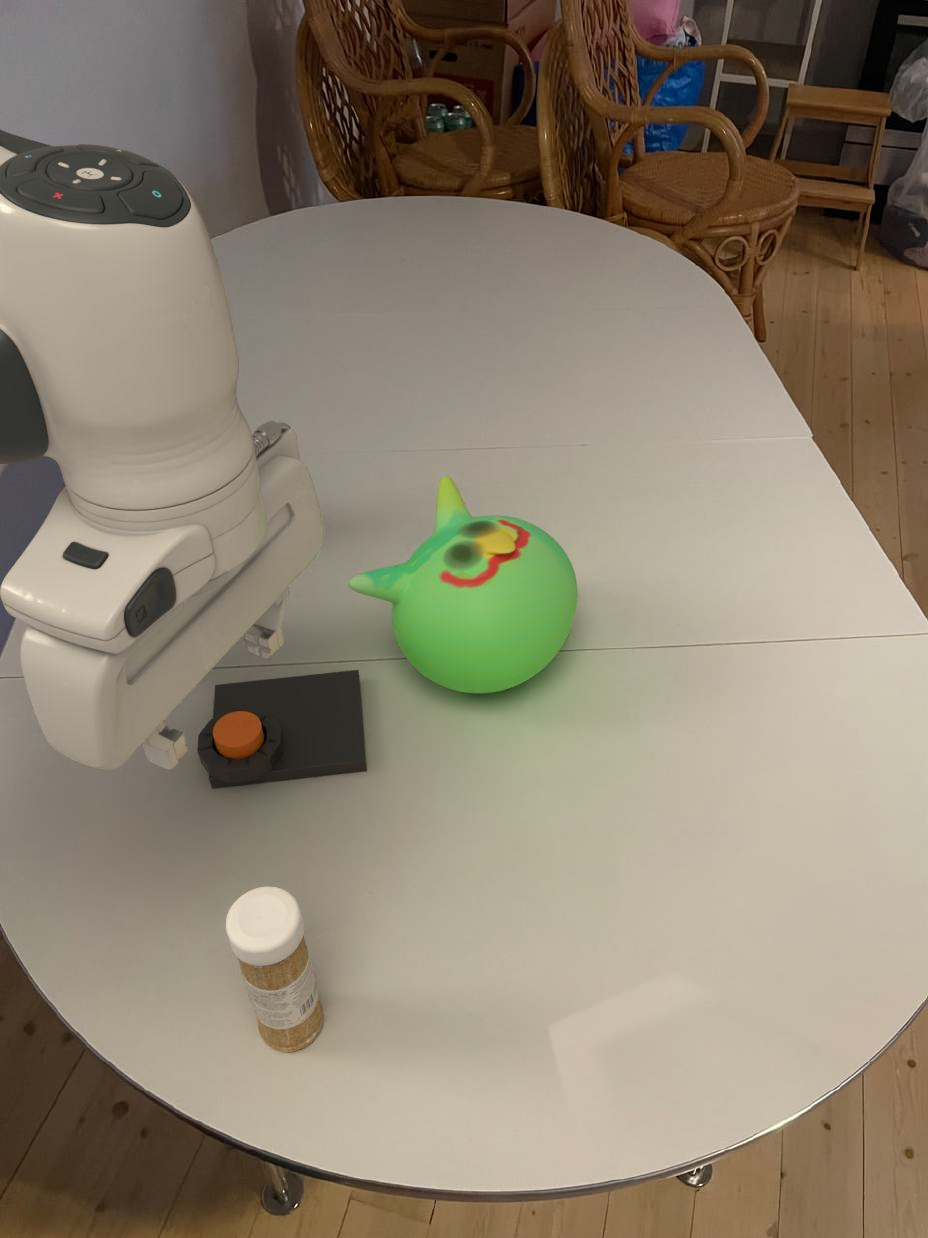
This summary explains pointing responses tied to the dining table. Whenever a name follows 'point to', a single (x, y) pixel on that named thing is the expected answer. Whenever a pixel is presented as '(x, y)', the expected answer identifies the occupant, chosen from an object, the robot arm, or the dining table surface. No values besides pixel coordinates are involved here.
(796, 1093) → the dining table surface
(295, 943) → the sprinkles bottle
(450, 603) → the toy bird
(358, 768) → the black button mount
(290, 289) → the dining table surface
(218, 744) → the button
